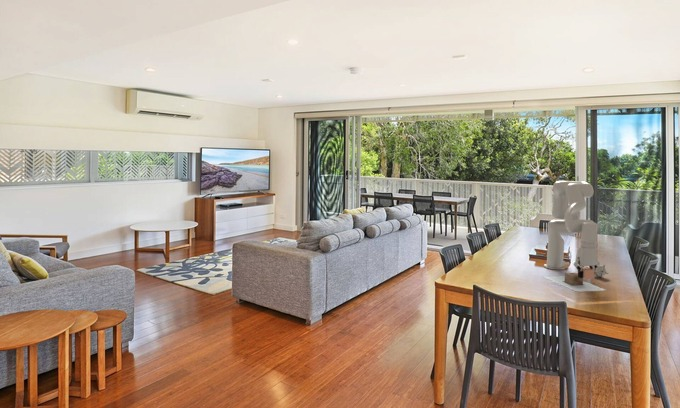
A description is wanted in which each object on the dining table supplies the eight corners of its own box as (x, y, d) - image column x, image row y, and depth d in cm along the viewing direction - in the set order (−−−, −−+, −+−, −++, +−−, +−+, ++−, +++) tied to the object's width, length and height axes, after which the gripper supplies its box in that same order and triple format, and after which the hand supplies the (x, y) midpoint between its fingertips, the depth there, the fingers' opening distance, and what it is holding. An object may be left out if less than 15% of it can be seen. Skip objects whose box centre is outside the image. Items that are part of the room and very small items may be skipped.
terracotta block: (586, 275, 232) (586, 267, 231) (593, 278, 226) (594, 269, 226) (577, 276, 231) (578, 267, 230) (584, 279, 225) (585, 270, 225)
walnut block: (574, 281, 241) (575, 272, 241) (582, 284, 235) (583, 275, 234) (564, 281, 240) (564, 272, 240) (572, 284, 234) (572, 276, 233)
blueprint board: (570, 277, 253) (570, 275, 253) (606, 292, 225) (606, 289, 225) (543, 278, 250) (543, 276, 250) (576, 293, 222) (576, 291, 222)
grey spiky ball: (595, 282, 257) (590, 266, 262) (610, 279, 252) (606, 264, 257) (591, 277, 251) (587, 262, 256) (607, 274, 246) (602, 259, 251)
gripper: (597, 243, 231) (594, 274, 234) (569, 243, 229) (566, 276, 231) (607, 246, 224) (604, 278, 226) (578, 247, 221) (576, 280, 224)
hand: (585, 277), depth 229 cm, fingers closed on terracotta block, 5 cm apart
